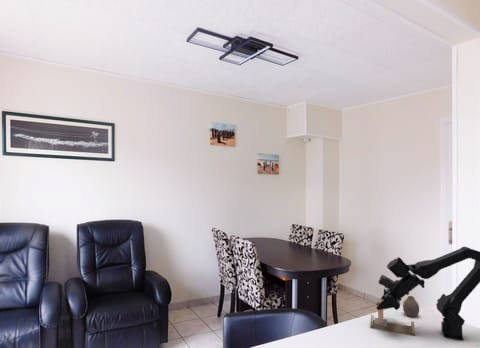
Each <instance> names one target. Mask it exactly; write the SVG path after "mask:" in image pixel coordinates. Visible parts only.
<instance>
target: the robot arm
mask: <svg viewBox="0 0 480 348" xmlns="http://www.w3.org/2000/svg"><path fill="white" fill-rule="evenodd" d="M469 259H472V260H474V264H473V268H471V270H470V271H469V273H468V274H466V276H465V277H464V278H463V279H462V281H460V283H459V284H458V285H457V286H456V287H455V289H454V290H453V291H452V292H451V293H450V294H448V295H446V294H445V293H442V294H441V296H440V297H439V298H438V299H437V300H436V301H437V302H436V304H435V305H436V310H437V311H438V312H439V313H440V314H441V315H442V321H441V322H440V323H441V326H440V328H441V333H442V334H443V337H444V338H448V339H454V340H459V341H464V337H463V326H464V325H465V319H464V318H463V317H462V316H461V315H460V312H461V310H462V306H463V302H465V300H466V299H467V298H468V297H469V295H470V294H472V292H473V291H474V289H476V288H477V286H478V285H480V251H479V250H476V249H474V248H473V249H472V248H470V247H468V246H462V247H460V248H458V249H456V250H454V251H451V252H449V253H446V254H444V255H441V256H439V257H436V258H433V259H428V260H427V259H426V260H425V259H424V260H422V261H418V262H416V263H414V264H413V263H412V264H406V263H405V262H404V261H403V259H402V258H401V257H399V256H398V257H396V258H394V259H393V260H391V261H388V264H387V265H386V268H387V269H388V271H390V272H391V273H392V274H393V275H394V276H395V277H396V278H400V279H399V280H398V279H395V280H394V279H393V280H392V279H391V278H389V277H388V276H386V275H384V274H381V275H380V277H379V280H378V284H379V285H380V286H384V288H383V294H382V296H381V298H380V299H383V300H382V302H381V303H380V304H379V305H378V302H376V309H377V311H378V310H381V309H383V310H386V309H393V308H394V310H396V311H397V310H399V309H400V308H401V303H400V302H401V301H402V298H404V297H405V296H409V295H410V292H412V290H413V291H414V289H415V288H417V287H418V286H419V287H421V288H422V289H425V280H428V279H430V278H432V277H434V276H435V275H436V274H437V273H439V272H440V271H441V270H444V269H446V268H448V267H451V266H453V265H455V264H458V263H461V262H463V261H465V260H469ZM424 279H425V280H424Z"/></svg>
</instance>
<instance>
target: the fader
mask: <svg viewBox="0 0 480 348" xmlns="http://www.w3.org/2000/svg"><path fill="white" fill-rule="evenodd" d="M382 300H383V299H381V298H378V299H377V303H378V305H379V304H380V303H381V302H382ZM374 320H375V321H374V325H377V326H383V327H387V322H388V319H387V318H384V309H381V310H378V309H377V317H374Z"/></svg>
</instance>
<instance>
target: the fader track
mask: <svg viewBox="0 0 480 348" xmlns="http://www.w3.org/2000/svg"><path fill="white" fill-rule="evenodd" d="M374 321H375V316H374V315H373V314H371V316H370V329H375V330H381V331H386V332H392V333H397V334H402V335H403V334H404V335H409V336H413V337H414V336H416V325H415V321H410V323H411V324H410V325H407V324H401V323H395V322H389V321H387V327H383V326H377V325H374Z"/></svg>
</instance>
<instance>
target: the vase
mask: <svg viewBox="0 0 480 348" xmlns="http://www.w3.org/2000/svg"><path fill="white" fill-rule="evenodd" d="M402 310H403V312H404V313H403V314H405V315H406V316H407V317H410V318H416V317H417V316H418V315H419V314H420V305H419V303H418V301H417V300H416V298H415V297H414V296H412V295H407V297H406V299H405V300H404V301H403V303H402Z"/></svg>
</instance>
